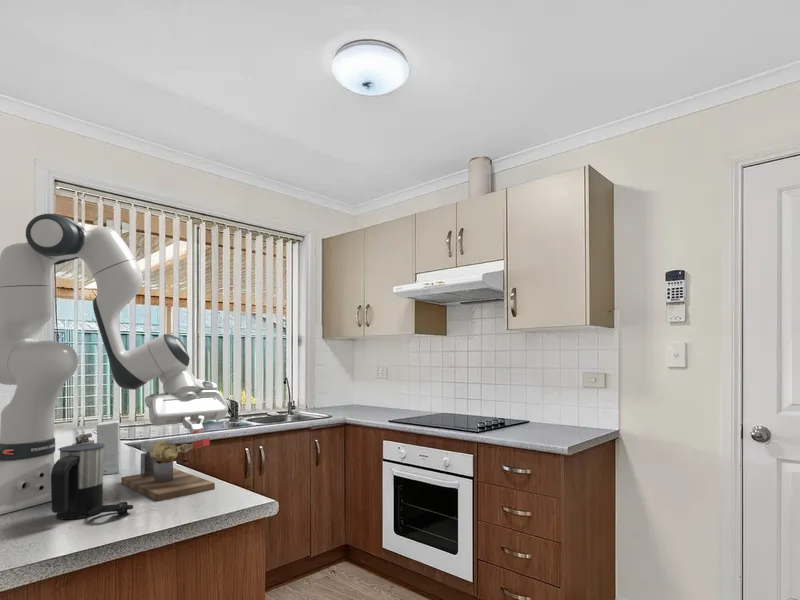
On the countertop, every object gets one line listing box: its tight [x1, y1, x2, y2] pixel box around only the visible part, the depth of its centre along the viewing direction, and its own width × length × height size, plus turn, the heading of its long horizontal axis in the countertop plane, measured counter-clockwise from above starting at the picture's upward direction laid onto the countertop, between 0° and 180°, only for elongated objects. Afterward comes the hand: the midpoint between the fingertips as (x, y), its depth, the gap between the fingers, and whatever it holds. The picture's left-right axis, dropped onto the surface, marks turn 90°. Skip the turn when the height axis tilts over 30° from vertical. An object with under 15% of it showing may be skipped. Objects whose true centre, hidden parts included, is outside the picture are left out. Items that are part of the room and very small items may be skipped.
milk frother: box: [51, 442, 134, 520], centre depth 119 cm, size 14×16×15 cm
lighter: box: [71, 432, 95, 445], centre depth 170 cm, size 8×3×10 cm, turn 171°
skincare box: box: [96, 420, 121, 476], centre depth 161 cm, size 8×6×15 cm
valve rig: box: [120, 440, 216, 502], centre depth 142 cm, size 27×14×12 cm, turn 44°
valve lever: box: [180, 437, 211, 454], centre depth 141 cm, size 2×2×15 cm
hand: (197, 431), depth 139 cm, fingers closed
